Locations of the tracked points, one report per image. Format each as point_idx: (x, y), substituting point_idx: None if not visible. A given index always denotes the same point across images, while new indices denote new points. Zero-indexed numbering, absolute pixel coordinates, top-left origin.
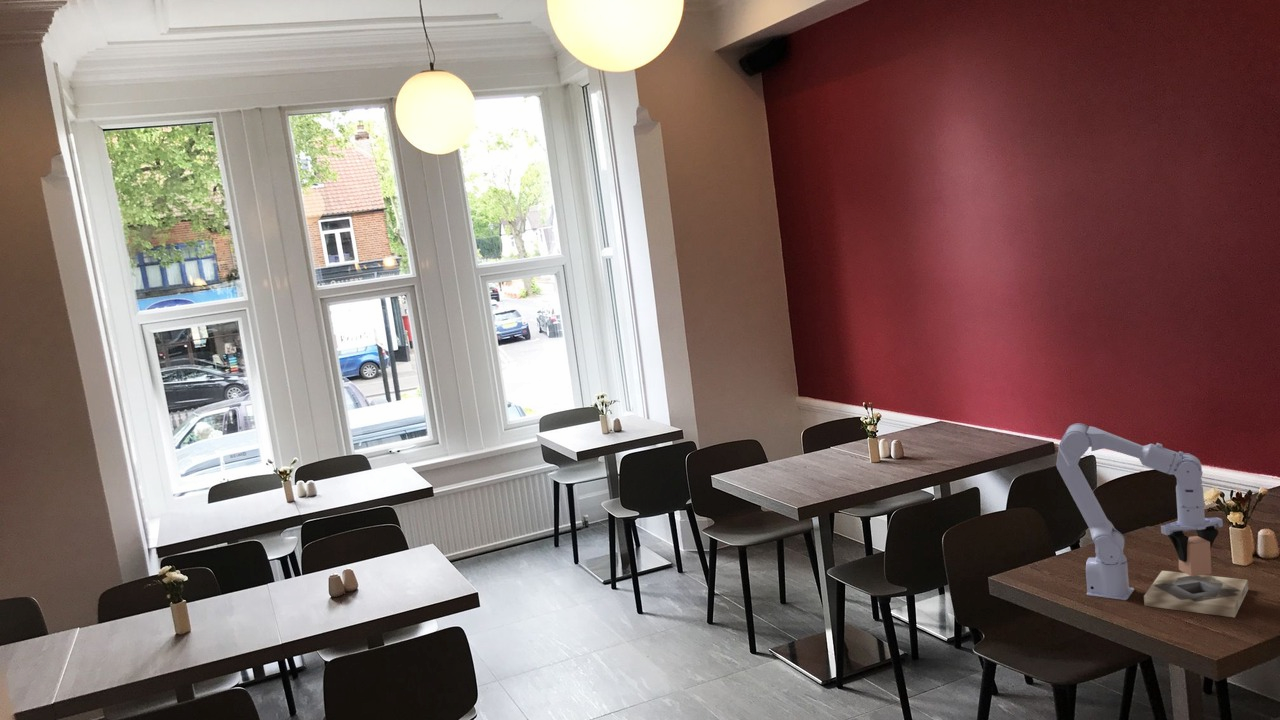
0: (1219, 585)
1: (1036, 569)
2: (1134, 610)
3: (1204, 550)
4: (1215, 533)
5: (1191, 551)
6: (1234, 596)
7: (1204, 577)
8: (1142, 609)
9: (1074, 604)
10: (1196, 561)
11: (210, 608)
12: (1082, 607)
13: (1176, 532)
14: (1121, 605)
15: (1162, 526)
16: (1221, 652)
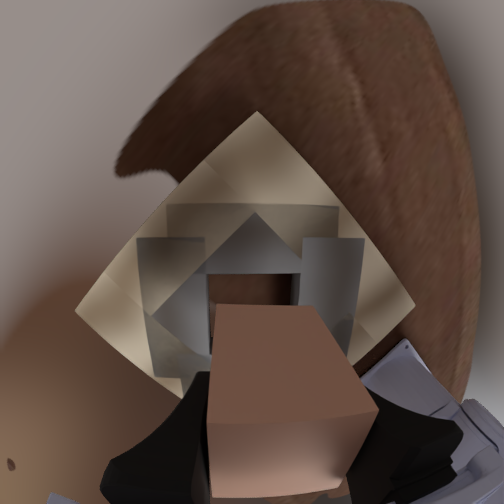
0: (171, 306)
1: None
2: (427, 279)
3: (254, 380)
4: (136, 472)
5: (348, 378)
6: (188, 197)
7: (175, 374)
8: (413, 279)
9: (468, 340)
10: (301, 341)
11: None
12: (471, 324)
13: (443, 480)
14: (426, 315)
15: (495, 491)
16: (397, 9)
